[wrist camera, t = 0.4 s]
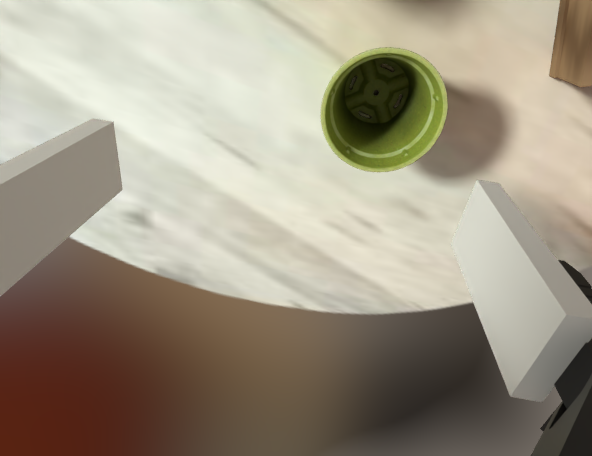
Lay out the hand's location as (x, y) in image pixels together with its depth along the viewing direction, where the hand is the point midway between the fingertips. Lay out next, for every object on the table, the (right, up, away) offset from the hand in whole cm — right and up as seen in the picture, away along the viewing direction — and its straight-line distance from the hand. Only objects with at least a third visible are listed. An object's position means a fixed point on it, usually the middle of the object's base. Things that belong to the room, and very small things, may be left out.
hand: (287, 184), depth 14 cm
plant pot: (+8, +12, +23) cm, 27 cm away
